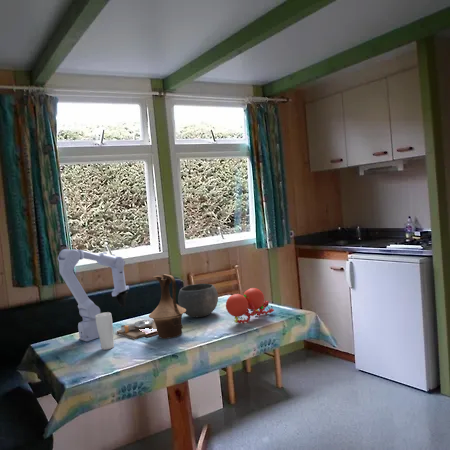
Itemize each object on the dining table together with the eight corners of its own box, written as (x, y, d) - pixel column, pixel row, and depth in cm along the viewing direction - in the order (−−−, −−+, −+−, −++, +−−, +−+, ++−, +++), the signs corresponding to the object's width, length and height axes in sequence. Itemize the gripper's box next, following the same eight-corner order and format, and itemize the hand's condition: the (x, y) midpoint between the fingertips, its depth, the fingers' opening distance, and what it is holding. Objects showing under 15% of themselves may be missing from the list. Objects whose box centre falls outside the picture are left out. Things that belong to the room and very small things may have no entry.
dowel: (126, 333, 215) (125, 326, 215) (124, 332, 216) (123, 326, 216) (129, 332, 216) (128, 325, 216) (127, 331, 218) (126, 325, 217)
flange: (151, 322, 226) (151, 317, 226) (154, 327, 218) (153, 321, 217) (120, 328, 222) (120, 323, 222) (122, 333, 213) (121, 328, 213)
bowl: (205, 322, 221) (201, 292, 220) (172, 320, 232) (168, 291, 231) (227, 310, 238) (223, 282, 237) (195, 309, 249) (191, 282, 248)
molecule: (245, 329, 203) (233, 296, 204) (229, 331, 211) (218, 299, 212) (280, 310, 220) (269, 279, 221) (265, 313, 228) (254, 283, 229)
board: (135, 339, 208) (134, 334, 208) (116, 333, 220) (116, 329, 220) (171, 326, 221) (170, 322, 221) (152, 321, 234) (151, 317, 234)
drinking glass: (107, 351, 196) (102, 317, 194) (96, 350, 199) (91, 316, 198) (119, 345, 201) (114, 312, 200) (108, 344, 205) (103, 311, 204)
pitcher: (197, 331, 208) (189, 270, 206) (168, 343, 196) (160, 279, 194) (172, 327, 220) (164, 269, 218) (143, 338, 208) (135, 277, 206)
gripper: (118, 277, 238) (122, 303, 239) (104, 284, 224) (108, 311, 225) (131, 276, 236) (134, 302, 237) (117, 283, 222) (121, 310, 223)
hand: (122, 306), depth 231 cm, fingers closed
